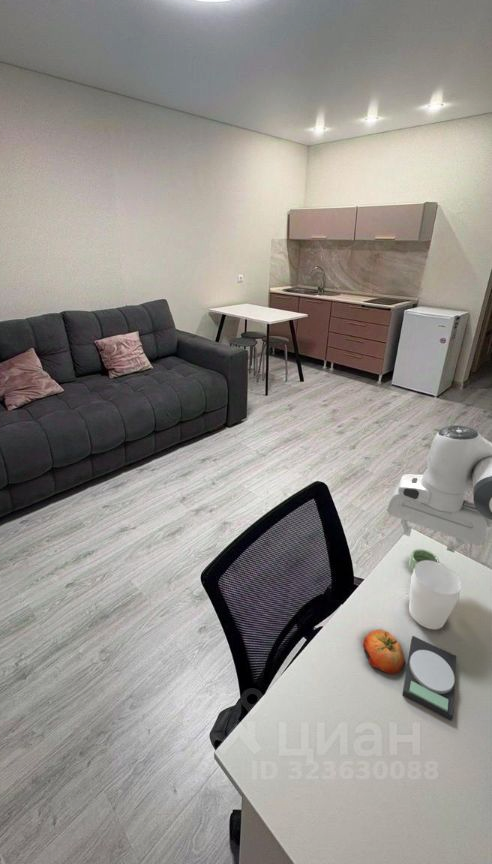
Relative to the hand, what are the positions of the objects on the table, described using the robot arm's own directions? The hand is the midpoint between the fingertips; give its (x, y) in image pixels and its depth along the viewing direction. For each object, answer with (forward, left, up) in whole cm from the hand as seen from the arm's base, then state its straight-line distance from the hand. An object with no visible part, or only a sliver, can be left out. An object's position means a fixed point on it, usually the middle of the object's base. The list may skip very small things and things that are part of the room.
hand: (428, 541), depth 96 cm
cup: (+10, +8, -10) cm, 16 cm away
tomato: (+25, +9, -10) cm, 29 cm away
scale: (+22, +17, -10) cm, 29 cm away
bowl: (0, 0, -10) cm, 10 cm away
